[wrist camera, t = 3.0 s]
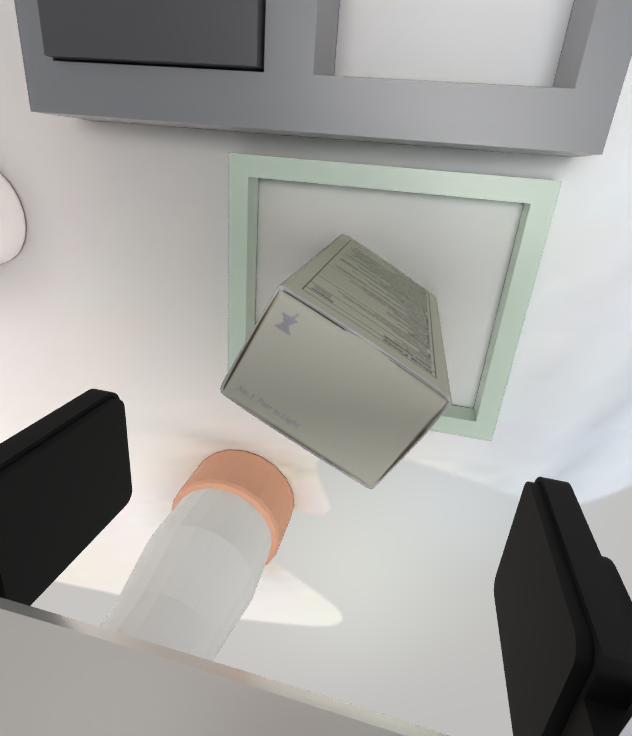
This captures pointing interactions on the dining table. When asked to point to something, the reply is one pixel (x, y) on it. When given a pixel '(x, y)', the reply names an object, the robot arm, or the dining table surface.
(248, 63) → the socket strip
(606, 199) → the dining table surface
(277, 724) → the robot arm
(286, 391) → the skincare box
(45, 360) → the dining table surface
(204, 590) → the salt shaker
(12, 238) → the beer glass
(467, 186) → the tray
